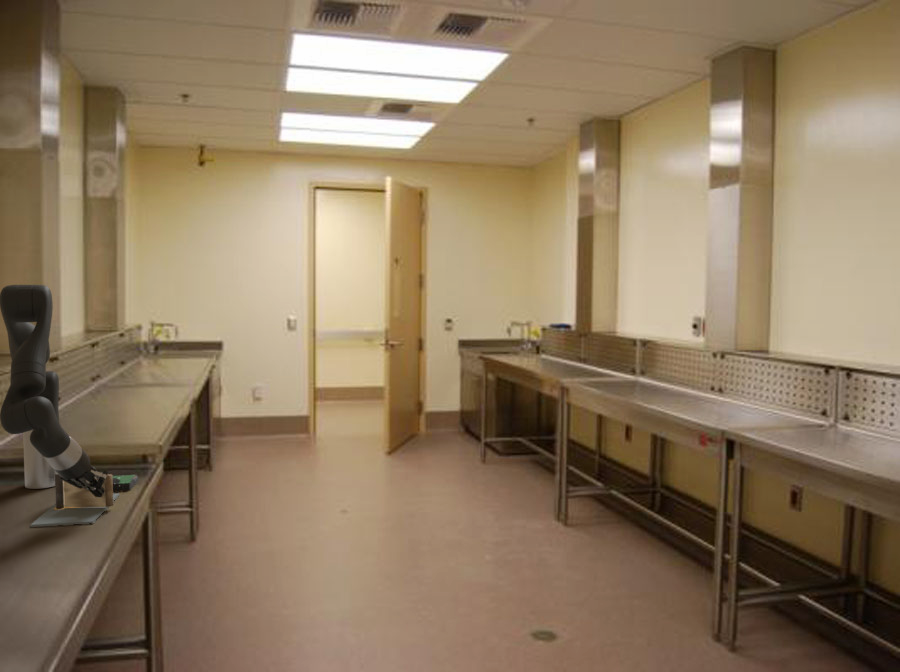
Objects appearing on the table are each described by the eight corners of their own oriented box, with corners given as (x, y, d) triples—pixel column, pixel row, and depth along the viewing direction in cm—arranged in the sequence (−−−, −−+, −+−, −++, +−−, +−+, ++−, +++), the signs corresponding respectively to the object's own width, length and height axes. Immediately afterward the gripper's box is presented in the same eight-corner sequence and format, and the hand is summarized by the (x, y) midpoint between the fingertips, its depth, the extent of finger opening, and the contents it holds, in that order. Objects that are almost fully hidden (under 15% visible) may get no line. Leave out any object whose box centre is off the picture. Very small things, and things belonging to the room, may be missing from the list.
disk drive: (74, 495, 204) (131, 492, 207) (74, 485, 204) (130, 482, 207) (84, 485, 214) (138, 482, 217) (84, 476, 214) (138, 473, 217)
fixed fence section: (68, 500, 197) (67, 465, 197) (75, 499, 198) (74, 465, 197) (55, 511, 187) (53, 475, 187) (62, 511, 187) (61, 474, 187)
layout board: (65, 497, 199) (64, 495, 199) (119, 495, 202) (119, 493, 202) (30, 527, 175) (30, 524, 175) (93, 523, 178) (92, 521, 178)
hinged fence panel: (64, 507, 187) (63, 476, 187) (67, 505, 189) (66, 474, 189) (111, 507, 188) (110, 476, 187) (114, 505, 189) (113, 474, 189)
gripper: (97, 444, 176) (129, 482, 188) (49, 442, 178) (84, 480, 191) (82, 470, 171) (117, 508, 183) (33, 468, 173) (70, 505, 186)
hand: (100, 494), depth 187 cm, fingers closed
